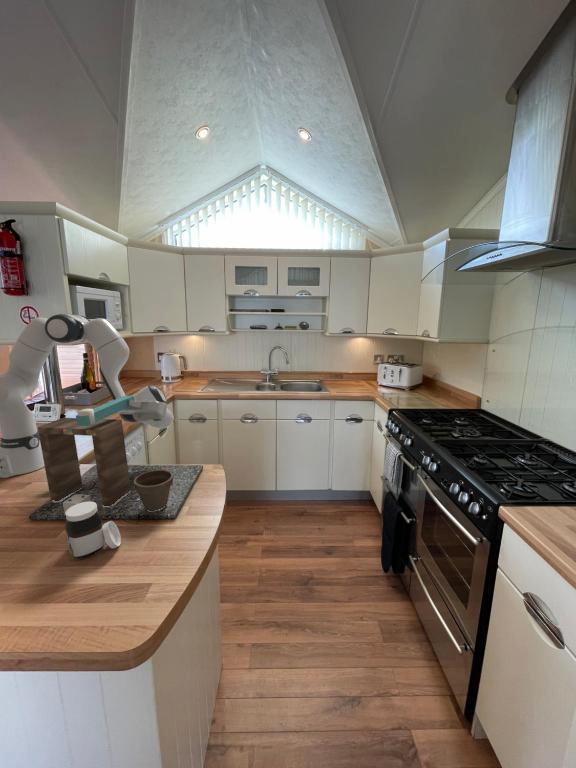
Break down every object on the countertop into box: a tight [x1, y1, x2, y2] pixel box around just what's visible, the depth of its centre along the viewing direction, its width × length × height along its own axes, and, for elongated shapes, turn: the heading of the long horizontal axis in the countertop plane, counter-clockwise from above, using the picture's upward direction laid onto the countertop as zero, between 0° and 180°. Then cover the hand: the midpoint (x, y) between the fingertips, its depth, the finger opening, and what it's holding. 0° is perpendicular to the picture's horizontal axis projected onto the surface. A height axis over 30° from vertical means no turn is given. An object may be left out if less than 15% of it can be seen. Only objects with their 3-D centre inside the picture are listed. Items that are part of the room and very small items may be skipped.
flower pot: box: [133, 469, 174, 511], centre depth 105 cm, size 12×11×10 cm
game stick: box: [75, 395, 134, 426], centre depth 108 cm, size 4×22×4 cm, turn 169°
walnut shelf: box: [37, 417, 132, 506], centre depth 110 cm, size 22×10×26 cm, turn 80°
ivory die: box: [62, 493, 92, 514], centre depth 103 cm, size 5×5×5 cm
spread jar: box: [64, 501, 122, 560], centre depth 86 cm, size 12×11×12 cm
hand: (122, 401), depth 115 cm, fingers closed on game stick, 3 cm apart
